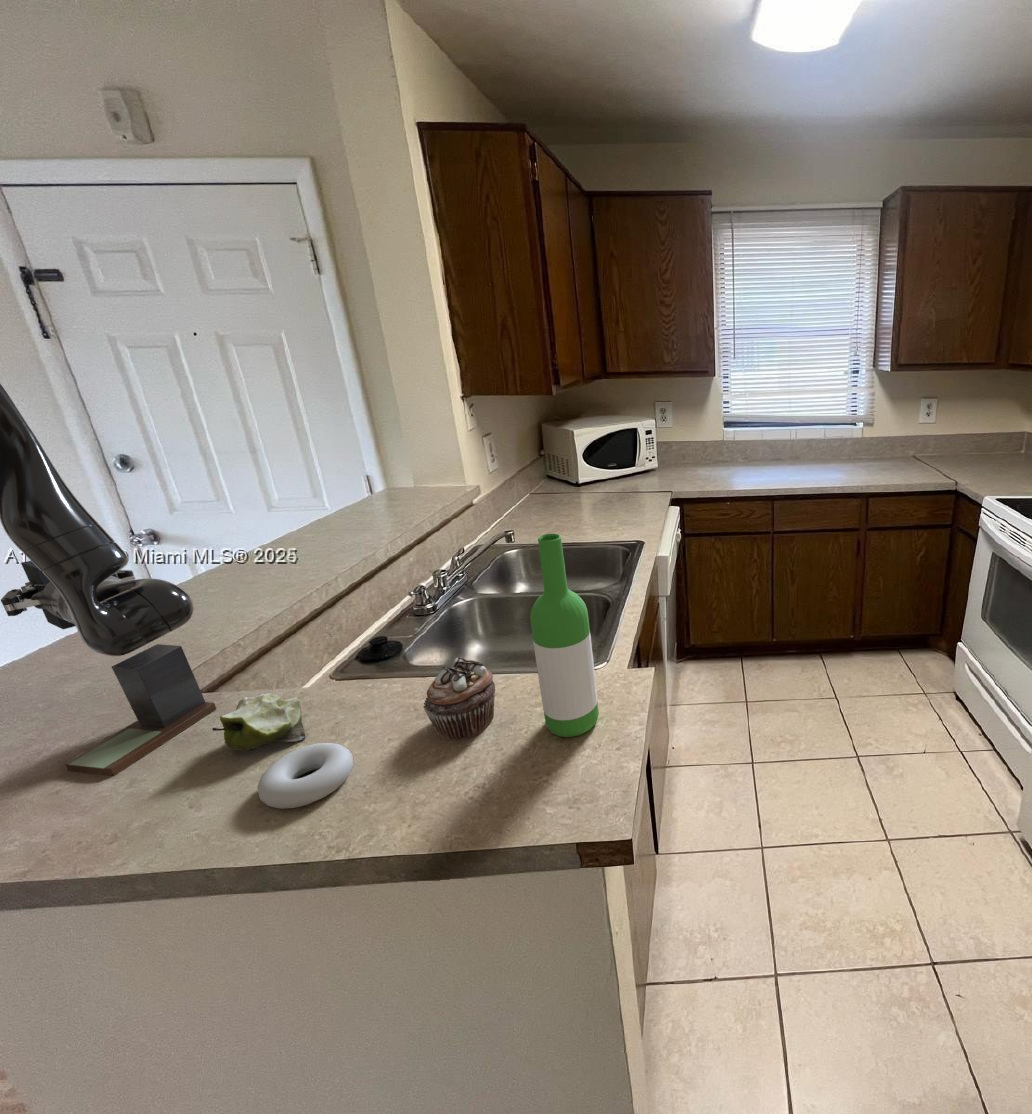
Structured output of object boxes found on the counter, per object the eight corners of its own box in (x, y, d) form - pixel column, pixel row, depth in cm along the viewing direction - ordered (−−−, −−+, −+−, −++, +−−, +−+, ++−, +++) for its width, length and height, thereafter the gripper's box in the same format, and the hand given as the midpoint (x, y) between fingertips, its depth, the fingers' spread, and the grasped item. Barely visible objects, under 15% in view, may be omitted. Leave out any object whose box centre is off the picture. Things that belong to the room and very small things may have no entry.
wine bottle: (543, 743, 81) (513, 550, 69) (548, 710, 88) (522, 528, 76) (598, 736, 83) (578, 545, 71) (600, 704, 90) (581, 525, 78)
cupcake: (458, 698, 90) (446, 644, 86) (513, 707, 89) (503, 652, 85) (414, 738, 82) (399, 680, 78) (474, 749, 80) (461, 690, 76)
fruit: (245, 777, 76) (209, 733, 73) (235, 748, 82) (201, 707, 79) (321, 733, 82) (291, 691, 78) (306, 709, 88) (277, 669, 84)
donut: (243, 802, 71) (297, 824, 68) (233, 781, 70) (289, 802, 66) (322, 750, 80) (374, 767, 76) (315, 730, 78) (367, 747, 75)
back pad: (100, 619, 90) (74, 559, 86) (62, 629, 86) (35, 567, 83) (84, 613, 93) (59, 555, 90) (48, 622, 89) (20, 562, 86)
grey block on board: (66, 771, 75) (26, 702, 71) (176, 705, 88) (148, 643, 84) (113, 776, 74) (75, 706, 70) (217, 709, 87) (190, 646, 83)
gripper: (149, 559, 86) (107, 548, 94) (3, 591, 74) (-32, 575, 82) (166, 605, 88) (124, 590, 96) (27, 643, 76) (-8, 623, 84)
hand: (53, 583), depth 89 cm, fingers closed on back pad, 4 cm apart
